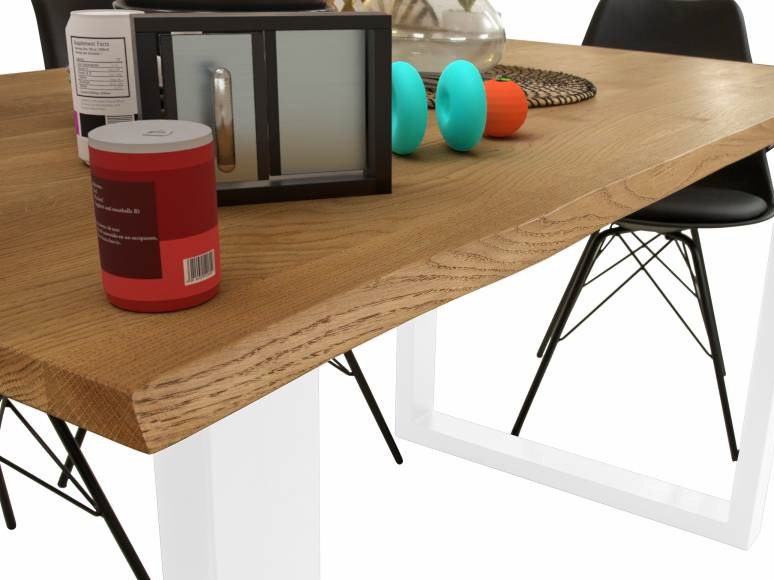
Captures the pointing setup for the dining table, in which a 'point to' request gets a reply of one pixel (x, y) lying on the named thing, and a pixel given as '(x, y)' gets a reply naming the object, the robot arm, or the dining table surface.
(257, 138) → the window pane
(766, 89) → the dining table surface
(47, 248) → the dining table surface
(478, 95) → the donuts
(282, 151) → the window frame
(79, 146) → the supplement can
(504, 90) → the clementine
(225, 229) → the dining table surface
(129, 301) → the canned food
